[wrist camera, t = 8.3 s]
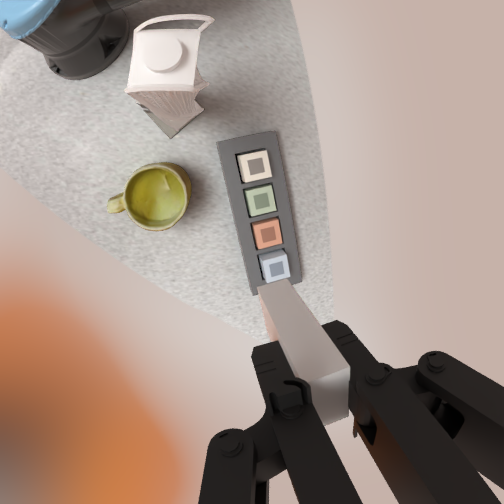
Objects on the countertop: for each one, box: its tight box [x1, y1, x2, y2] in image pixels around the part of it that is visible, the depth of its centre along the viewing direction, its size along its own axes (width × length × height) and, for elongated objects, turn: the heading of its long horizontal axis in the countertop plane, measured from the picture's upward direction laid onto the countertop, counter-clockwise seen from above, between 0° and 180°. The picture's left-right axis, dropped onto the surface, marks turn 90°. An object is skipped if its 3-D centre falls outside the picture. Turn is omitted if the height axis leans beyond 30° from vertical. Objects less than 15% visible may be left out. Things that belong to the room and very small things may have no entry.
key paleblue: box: [259, 249, 290, 283], centre depth 48 cm, size 4×4×3 cm
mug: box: [107, 162, 192, 231], centre depth 40 cm, size 12×10×10 cm
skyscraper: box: [124, 14, 215, 139], centre depth 27 cm, size 8×8×28 cm
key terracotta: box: [251, 217, 282, 249], centre depth 47 cm, size 4×4×3 cm
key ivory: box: [237, 150, 272, 183], centre depth 42 cm, size 4×4×3 cm
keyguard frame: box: [216, 131, 302, 296], centre depth 47 cm, size 26×9×2 cm, turn 12°
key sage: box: [243, 184, 276, 216], centre depth 45 cm, size 4×4×3 cm
